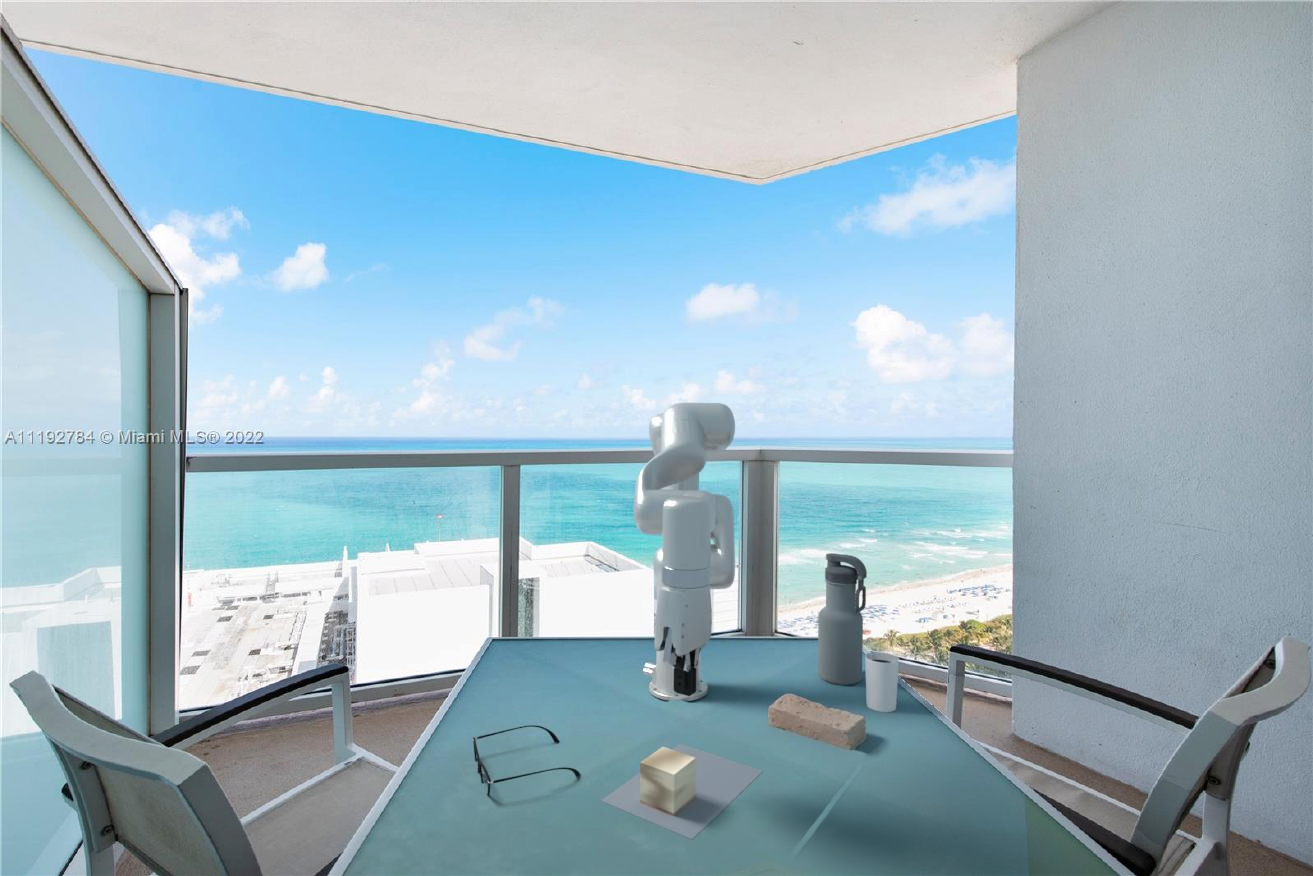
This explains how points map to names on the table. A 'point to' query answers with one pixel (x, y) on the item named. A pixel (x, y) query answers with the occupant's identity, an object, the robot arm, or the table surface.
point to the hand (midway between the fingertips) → (684, 692)
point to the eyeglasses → (481, 766)
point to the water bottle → (842, 621)
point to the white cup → (881, 681)
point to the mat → (712, 793)
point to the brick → (817, 721)
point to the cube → (667, 780)
